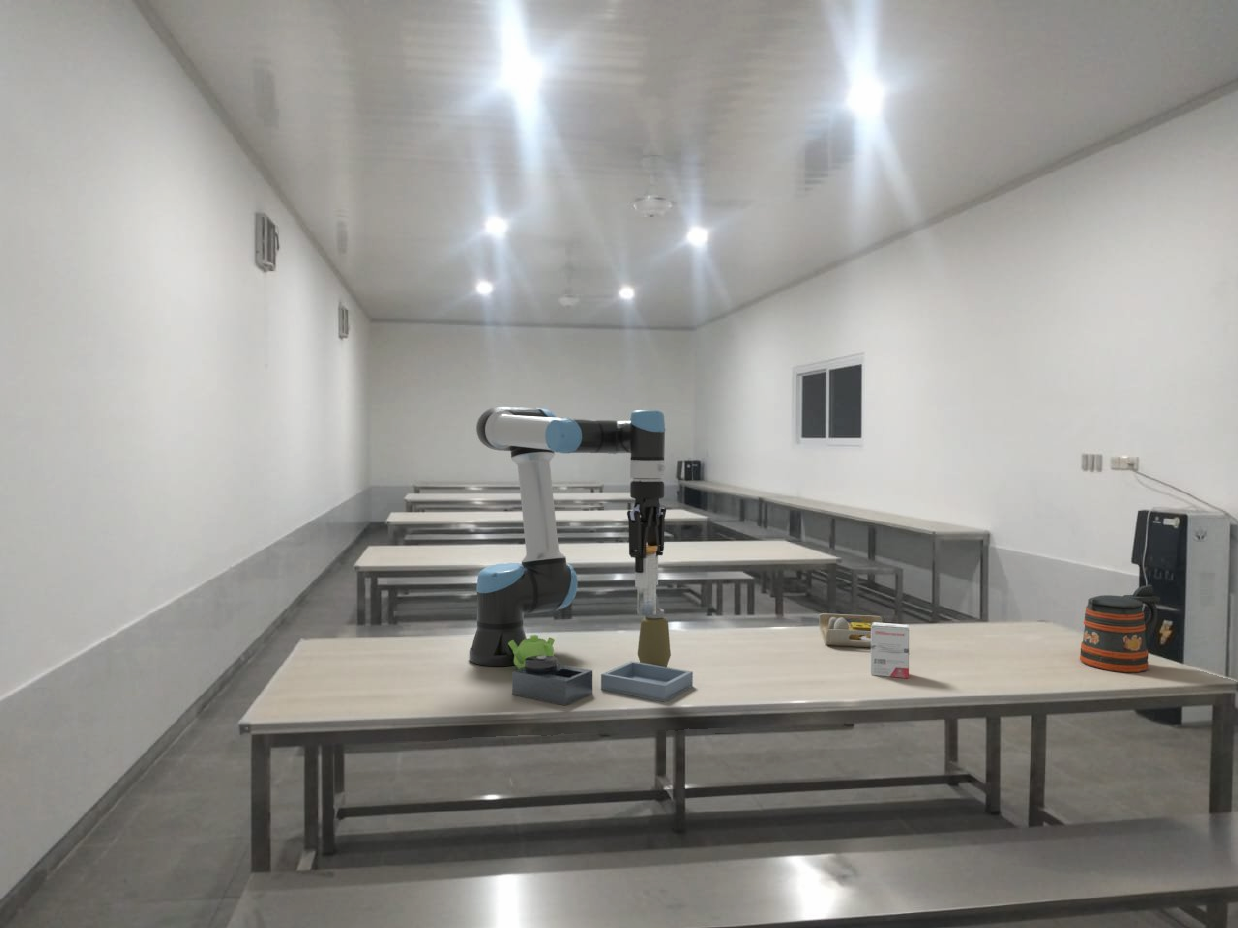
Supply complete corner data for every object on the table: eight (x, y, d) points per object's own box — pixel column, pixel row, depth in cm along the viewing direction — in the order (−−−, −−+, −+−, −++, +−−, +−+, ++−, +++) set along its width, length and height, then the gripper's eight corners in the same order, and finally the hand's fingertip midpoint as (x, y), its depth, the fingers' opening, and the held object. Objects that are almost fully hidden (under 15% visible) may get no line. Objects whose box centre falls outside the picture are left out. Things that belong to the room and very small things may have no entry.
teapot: (560, 676, 185) (561, 640, 185) (511, 679, 182) (511, 642, 182) (554, 663, 196) (554, 629, 196) (507, 666, 193) (507, 631, 193)
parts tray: (600, 689, 175) (601, 674, 175) (631, 675, 186) (631, 661, 186) (665, 701, 167) (665, 685, 167) (692, 686, 178) (692, 671, 178)
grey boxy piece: (512, 694, 171) (512, 658, 171) (540, 682, 180) (540, 648, 179) (565, 705, 164) (565, 667, 164) (592, 693, 172) (592, 657, 172)
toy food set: (896, 652, 211) (896, 624, 211) (825, 649, 214) (825, 620, 214) (882, 631, 236) (882, 606, 236) (819, 628, 239) (819, 603, 239)
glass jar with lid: (632, 614, 175) (632, 546, 175) (642, 610, 179) (643, 544, 179) (650, 616, 173) (650, 547, 173) (660, 612, 177) (661, 545, 177)
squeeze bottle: (668, 674, 187) (669, 598, 187) (634, 672, 189) (635, 596, 188) (672, 665, 195) (673, 592, 194) (640, 663, 196) (641, 591, 196)
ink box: (908, 673, 190) (909, 623, 190) (909, 678, 185) (909, 627, 185) (870, 669, 193) (871, 620, 193) (870, 675, 188) (870, 624, 188)
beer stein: (1125, 654, 209) (1127, 579, 209) (1177, 670, 195) (1179, 588, 194) (1066, 659, 204) (1067, 581, 204) (1115, 674, 190) (1116, 591, 190)
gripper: (642, 481, 166) (641, 593, 167) (680, 479, 181) (679, 582, 181) (612, 480, 170) (611, 589, 171) (651, 478, 185) (651, 579, 185)
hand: (646, 585), depth 176 cm, fingers closed on glass jar with lid, 4 cm apart
